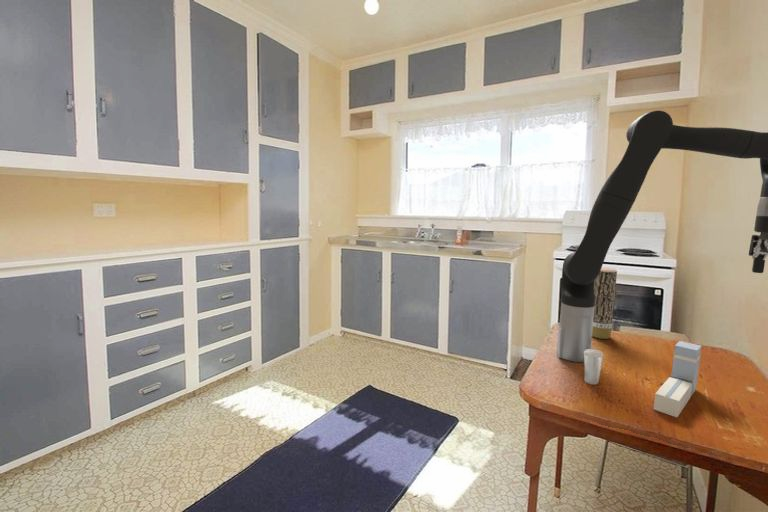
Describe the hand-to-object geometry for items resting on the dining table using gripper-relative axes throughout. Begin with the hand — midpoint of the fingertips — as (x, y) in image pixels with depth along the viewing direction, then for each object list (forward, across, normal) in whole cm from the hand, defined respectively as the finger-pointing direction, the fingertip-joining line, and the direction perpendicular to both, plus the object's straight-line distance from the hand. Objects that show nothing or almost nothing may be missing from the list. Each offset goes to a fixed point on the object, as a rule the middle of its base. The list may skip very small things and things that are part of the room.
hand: (767, 275), depth 101 cm
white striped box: (+29, +23, -26) cm, 45 cm away
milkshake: (+30, +17, -43) cm, 55 cm away
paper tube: (+30, -24, -33) cm, 50 cm away
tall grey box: (+29, +14, -21) cm, 39 cm away
